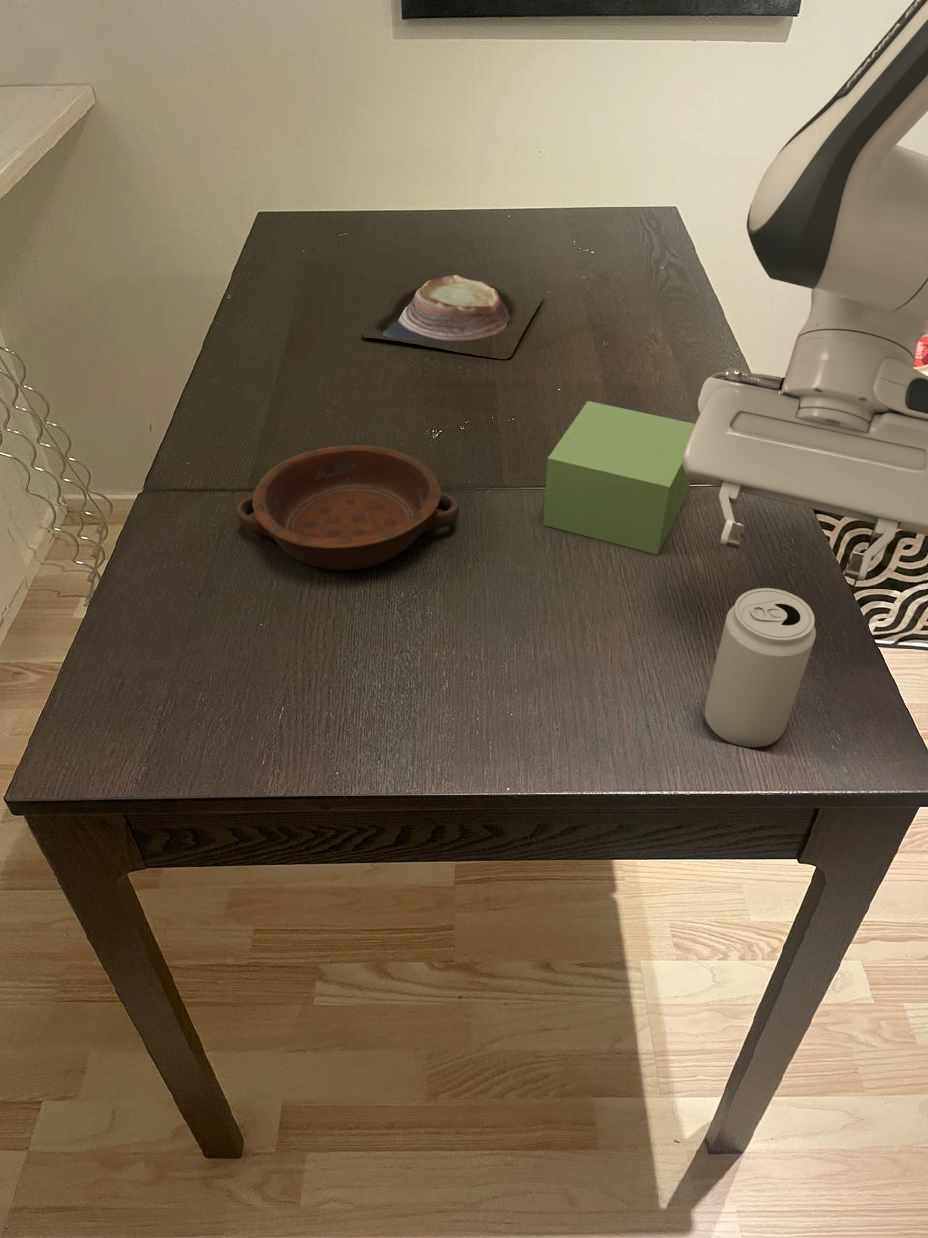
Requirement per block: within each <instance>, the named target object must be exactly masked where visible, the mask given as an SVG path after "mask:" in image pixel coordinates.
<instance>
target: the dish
mask: <svg viewBox="0 0 928 1238" xmlns="http://www.w3.org/2000/svg"><path fill="white" fill-rule="evenodd" d="M442 491H443V490H442V486H441V484H440V482H439V481H438V478H436V476H435V475H434V473H433V472H432V471H431V470H430V469H429V468H428V467H427V466H426V465H425V464H424V463H423V462H421V461H420V460H419V459H416V458H414V457H412V456H410V455H408V454H406V453H403V452H400V451H397V450H395V449H391V448H388V447H384V446H377V445H359V444H355V445H352V444H351V445H337V446H329V447H323V448H318V449H314V450H310V451H306V452H304V453H301V454H300V453H299V454H298V455H294V456H292V457H290V458H287V459H286V460H284V461H282V462H280V463H278V464H277V465H275V466H274V467H273V468H271V470H269V471H268V472H267V473H266V474H265V475H264V476H263V477H262V478H261V479H260V482H259V483H258V484H257V485H256V487H255V490H253V492H252V495H251V496H249V497H246V498H244V499H242V501H240V502H239V503H238V505H237V507H236V516H237V518H238V520H239V522H240V525H241V526H242V528H244V529H245V530H246V531H247V532H250V533H252V534H257V535H260V536H265V537H269V538H272V539H273V540H274V541H275V542H276V543H277V545H278V546H279V547H280V548H281V549H282V550H283V551H284V552H285V553H286V554H288V555H289V556H290V557H291V558H293V559H295V560H297V561H298V562H301V563H303V564H305V565H308V566H311V567H315V568H320V569H326V570H333V571H334V570H335V571H350V570H358V569H365V568H369V567H373V566H377V565H380V564H382V563H384V562H386V561H388V560H390V559H392V558H394V557H396V556H398V555H399V554H401V553H402V552H404V551H405V550H406V549H407V548H408V547H410V546H411V545H412V544H413V543H414V542H415V541H416V540H417V539H418V538H419V537H420V536H421V535H422V534H423V533H424V532H427V531H432V530H437V529H442V528H446V527H447V528H448V527H449V526H451V525H454V523H456V521H457V520H458V517H459V511H460V504H459V501H458V500H456V498H454V497H453V496H452V495H450V494H447V493H444V492H442ZM438 510H439V511H438ZM253 513H254V516H250V515H251V514H253Z"/></svg>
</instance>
